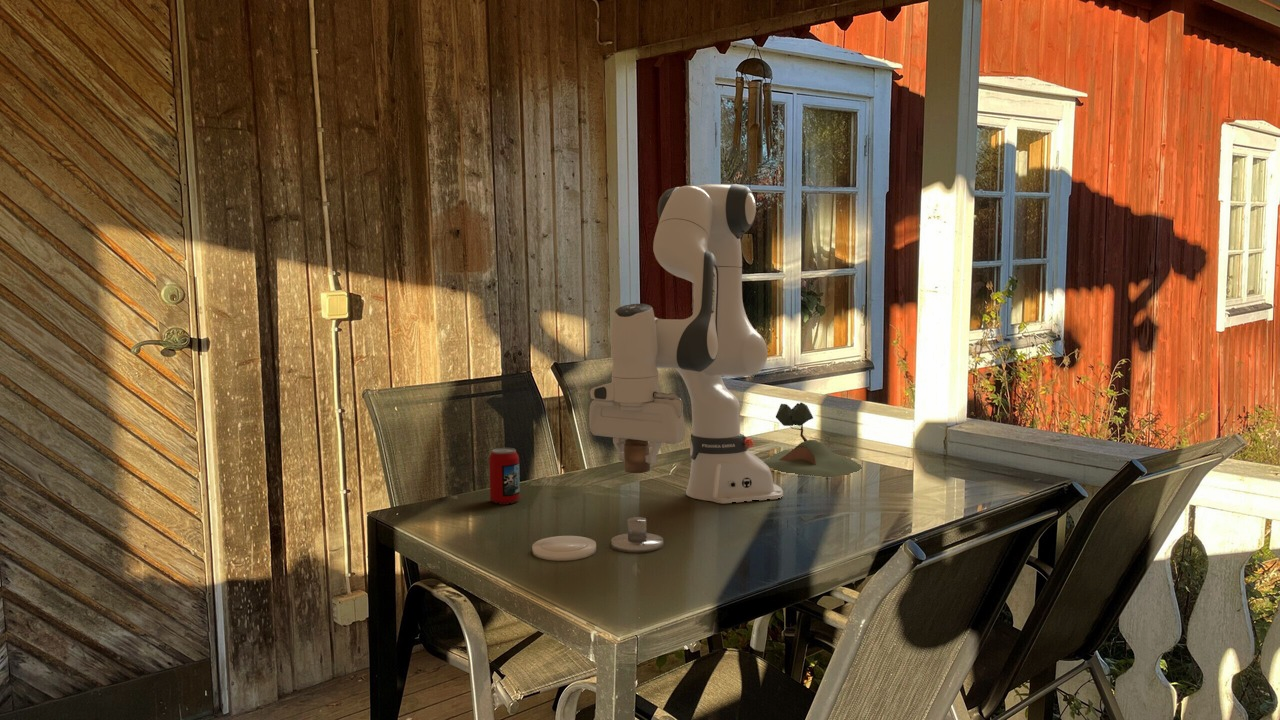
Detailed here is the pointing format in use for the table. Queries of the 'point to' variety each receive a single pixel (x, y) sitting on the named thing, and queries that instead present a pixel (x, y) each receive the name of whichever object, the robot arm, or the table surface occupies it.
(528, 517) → the table surface
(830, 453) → the plant
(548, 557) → the saucer
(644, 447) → the cap
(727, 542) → the table surface
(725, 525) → the table surface
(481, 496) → the table surface
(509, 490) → the beverage can
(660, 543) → the pedestal
